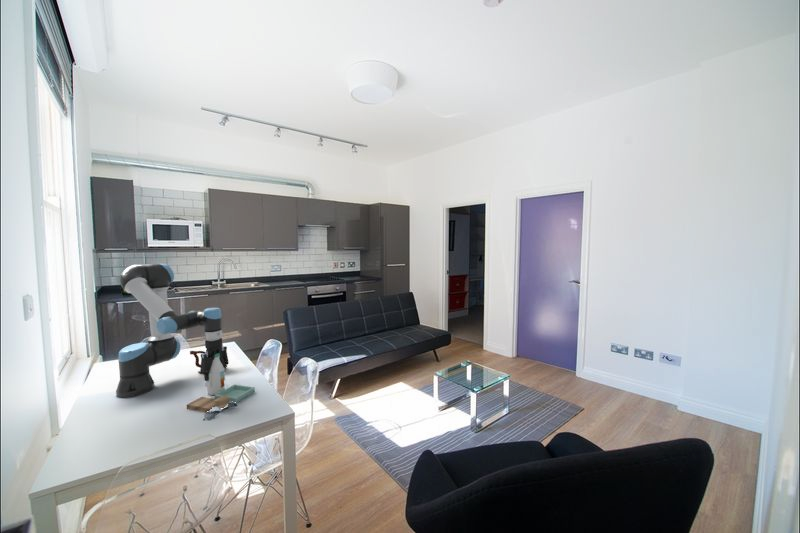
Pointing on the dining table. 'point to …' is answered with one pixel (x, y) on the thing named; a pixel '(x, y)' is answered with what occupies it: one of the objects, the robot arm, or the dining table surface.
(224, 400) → the block
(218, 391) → the milk bottle
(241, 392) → the tray
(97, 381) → the dining table surface
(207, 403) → the tan wooden board
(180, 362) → the dining table surface
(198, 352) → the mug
